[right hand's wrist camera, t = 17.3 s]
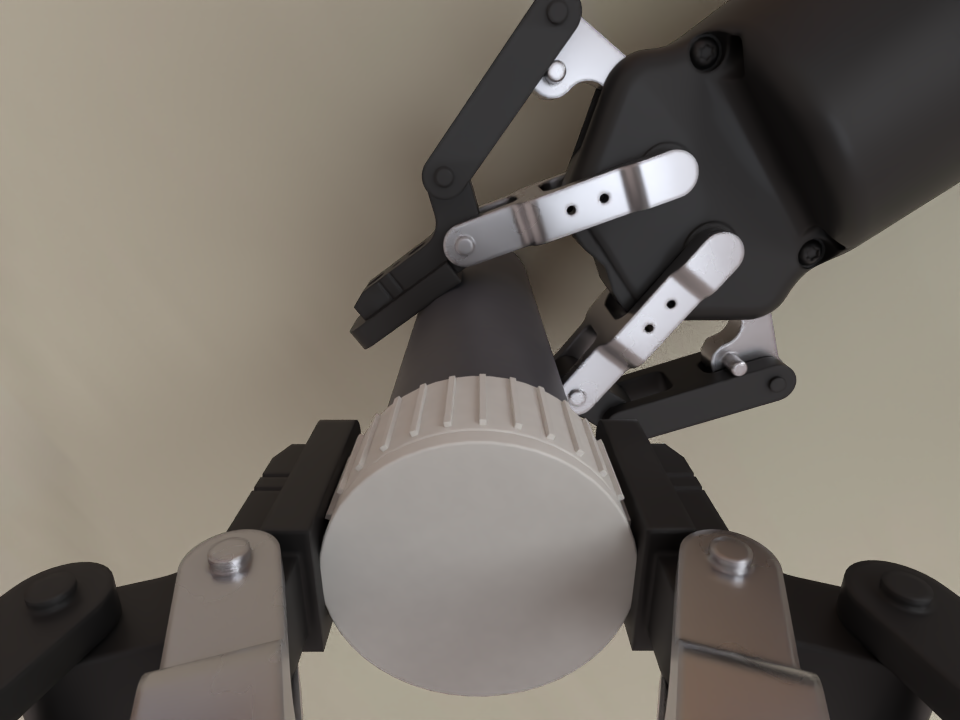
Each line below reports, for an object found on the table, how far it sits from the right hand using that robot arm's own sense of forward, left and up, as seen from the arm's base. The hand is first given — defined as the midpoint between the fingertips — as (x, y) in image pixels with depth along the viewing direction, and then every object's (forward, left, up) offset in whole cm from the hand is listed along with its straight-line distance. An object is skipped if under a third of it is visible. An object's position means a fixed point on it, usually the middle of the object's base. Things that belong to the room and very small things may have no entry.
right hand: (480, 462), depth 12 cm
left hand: (-3, 0, -7) cm, 8 cm away
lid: (0, 0, +3) cm, 3 cm away
